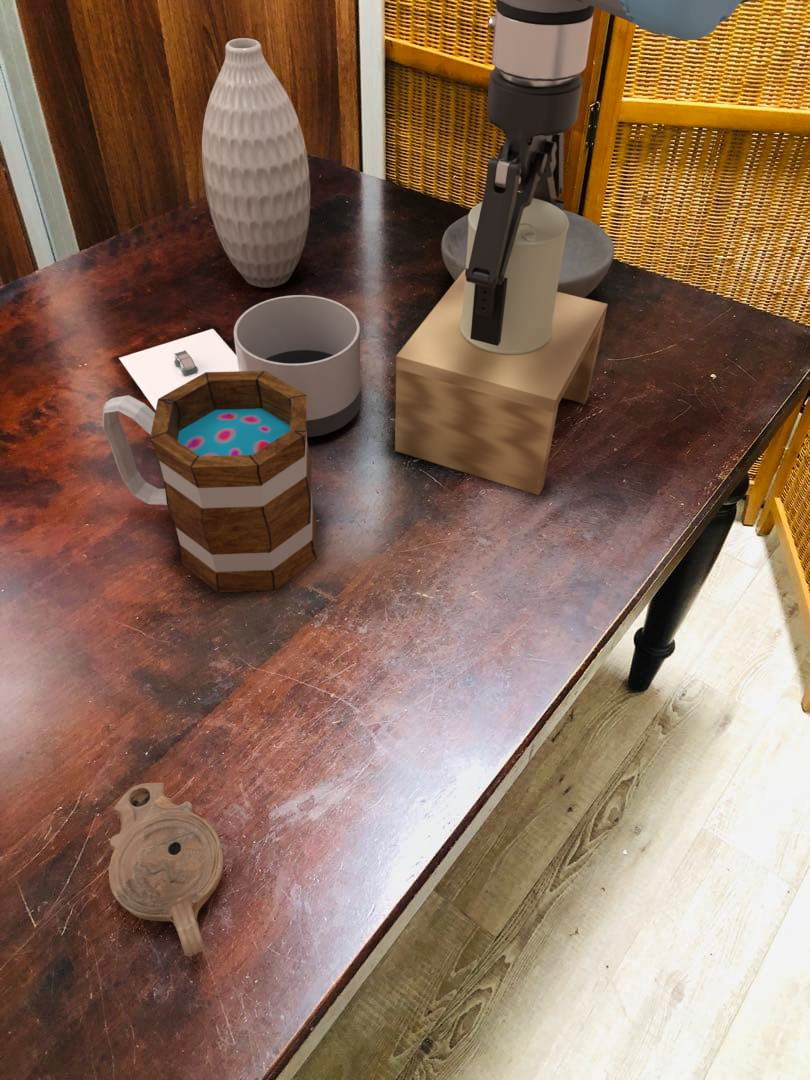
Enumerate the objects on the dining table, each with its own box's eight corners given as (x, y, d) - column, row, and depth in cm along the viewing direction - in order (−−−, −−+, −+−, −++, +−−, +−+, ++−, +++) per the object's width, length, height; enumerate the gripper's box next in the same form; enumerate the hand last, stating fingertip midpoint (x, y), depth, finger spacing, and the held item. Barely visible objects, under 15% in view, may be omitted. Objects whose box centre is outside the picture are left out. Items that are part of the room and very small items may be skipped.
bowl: (474, 354, 105) (480, 295, 100) (416, 269, 119) (418, 212, 113) (631, 325, 110) (645, 267, 105) (558, 246, 124) (567, 191, 118)
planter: (382, 424, 96) (382, 342, 88) (275, 462, 91) (265, 379, 84) (328, 363, 103) (324, 283, 96) (226, 396, 99) (214, 314, 91)
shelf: (588, 396, 100) (607, 303, 91) (539, 495, 89) (556, 400, 80) (457, 361, 104) (464, 269, 96) (394, 451, 93) (396, 355, 84)
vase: (246, 245, 122) (218, 19, 102) (330, 262, 120) (319, 33, 99) (201, 290, 114) (161, 53, 94) (291, 309, 111) (270, 70, 91)
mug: (343, 510, 87) (337, 386, 76) (287, 611, 78) (271, 487, 67) (165, 465, 91) (135, 341, 80) (93, 556, 82) (48, 431, 71)
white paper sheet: (157, 412, 97) (154, 401, 96) (118, 358, 103) (115, 347, 102) (256, 378, 101) (254, 368, 100) (213, 328, 108) (211, 318, 107)
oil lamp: (99, 820, 64) (82, 787, 60) (199, 781, 66) (189, 747, 63) (142, 997, 56) (125, 971, 52) (254, 946, 58) (246, 917, 55)
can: (473, 359, 84) (483, 242, 75) (449, 308, 90) (457, 194, 81) (564, 350, 85) (585, 233, 77) (535, 299, 92) (551, 187, 83)
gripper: (540, 19, 79) (514, 241, 95) (434, 115, 64) (424, 362, 79) (621, 32, 77) (581, 256, 93) (532, 134, 62) (502, 384, 77)
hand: (509, 305), depth 86 cm, fingers open, 13 cm apart
